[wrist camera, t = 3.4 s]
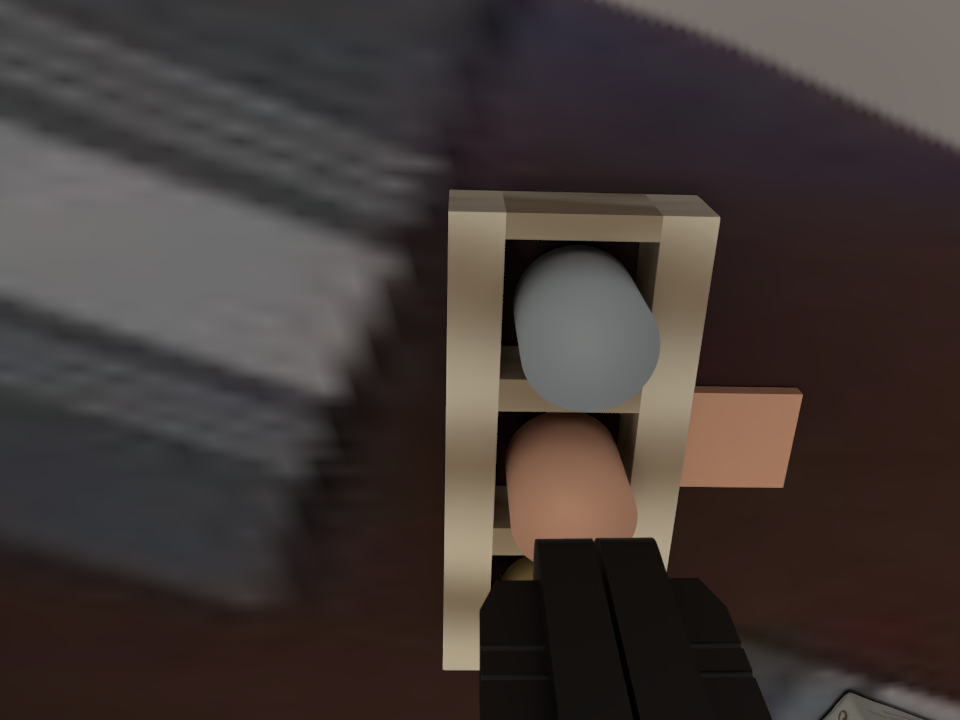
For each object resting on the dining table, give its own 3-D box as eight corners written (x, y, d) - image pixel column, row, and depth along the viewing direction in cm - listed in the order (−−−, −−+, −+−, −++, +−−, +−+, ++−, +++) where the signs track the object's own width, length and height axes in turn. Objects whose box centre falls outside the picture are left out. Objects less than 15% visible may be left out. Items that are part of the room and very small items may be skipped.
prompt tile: (778, 480, 36) (783, 487, 35) (675, 478, 36) (679, 486, 35) (797, 387, 34) (802, 394, 33) (689, 386, 34) (693, 392, 33)
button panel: (638, 621, 39) (651, 670, 36) (443, 620, 39) (442, 670, 36) (696, 195, 30) (720, 217, 28) (449, 189, 30) (448, 211, 27)
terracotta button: (612, 507, 34) (630, 572, 30) (502, 506, 33) (508, 571, 30) (623, 411, 32) (644, 467, 28) (507, 409, 32) (513, 466, 28)
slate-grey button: (629, 361, 31) (651, 413, 27) (509, 359, 31) (517, 411, 27) (642, 246, 29) (668, 285, 25) (515, 243, 29) (523, 282, 25)
